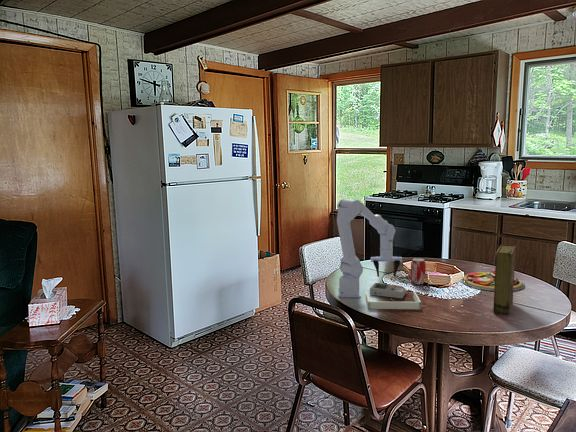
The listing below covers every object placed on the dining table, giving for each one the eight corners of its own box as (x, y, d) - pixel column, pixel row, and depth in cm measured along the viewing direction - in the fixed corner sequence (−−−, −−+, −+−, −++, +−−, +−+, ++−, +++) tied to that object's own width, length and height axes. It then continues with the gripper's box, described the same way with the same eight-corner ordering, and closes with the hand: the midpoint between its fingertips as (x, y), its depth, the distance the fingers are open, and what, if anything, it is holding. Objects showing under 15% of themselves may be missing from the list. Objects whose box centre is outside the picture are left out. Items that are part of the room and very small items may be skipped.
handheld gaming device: (402, 299, 194) (402, 291, 194) (369, 295, 201) (369, 287, 200) (406, 293, 202) (406, 285, 202) (374, 290, 209) (374, 282, 208)
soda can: (426, 285, 211) (426, 261, 209) (411, 285, 213) (411, 261, 211) (424, 281, 218) (425, 257, 216) (410, 280, 220) (410, 257, 218)
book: (498, 301, 188) (501, 244, 184) (512, 303, 185) (515, 245, 182) (493, 313, 175) (496, 252, 171) (508, 316, 172) (511, 253, 168)
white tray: (368, 308, 184) (368, 301, 183) (365, 297, 197) (365, 291, 196) (421, 309, 181) (421, 302, 181) (415, 298, 195) (415, 291, 194)
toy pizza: (507, 274, 226) (507, 266, 225) (536, 292, 199) (536, 283, 198) (452, 276, 227) (453, 267, 226) (474, 293, 199) (474, 284, 199)
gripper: (400, 246, 212) (400, 273, 214) (370, 246, 213) (370, 273, 216) (402, 249, 205) (402, 277, 207) (371, 250, 207) (371, 277, 209)
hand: (386, 276), depth 211 cm, fingers open, 7 cm apart
